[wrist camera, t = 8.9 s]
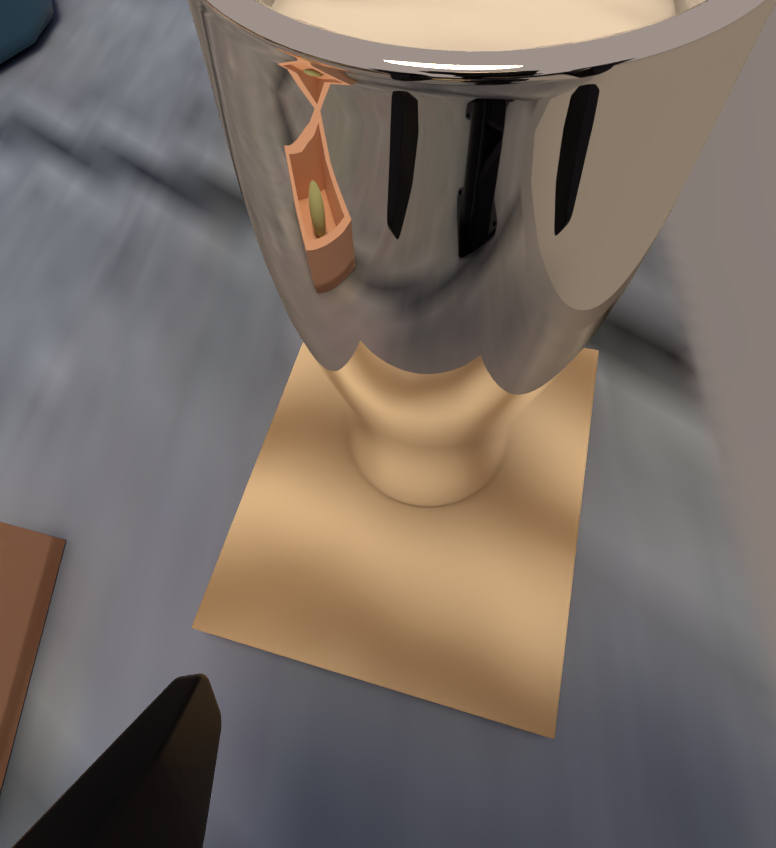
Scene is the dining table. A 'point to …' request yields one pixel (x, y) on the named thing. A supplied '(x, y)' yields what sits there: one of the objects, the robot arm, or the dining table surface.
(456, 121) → the metal goblet
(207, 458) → the dining table surface
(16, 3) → the wine bottle
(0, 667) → the terracotta dish
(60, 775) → the dining table surface
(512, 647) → the oak board
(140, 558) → the dining table surface
